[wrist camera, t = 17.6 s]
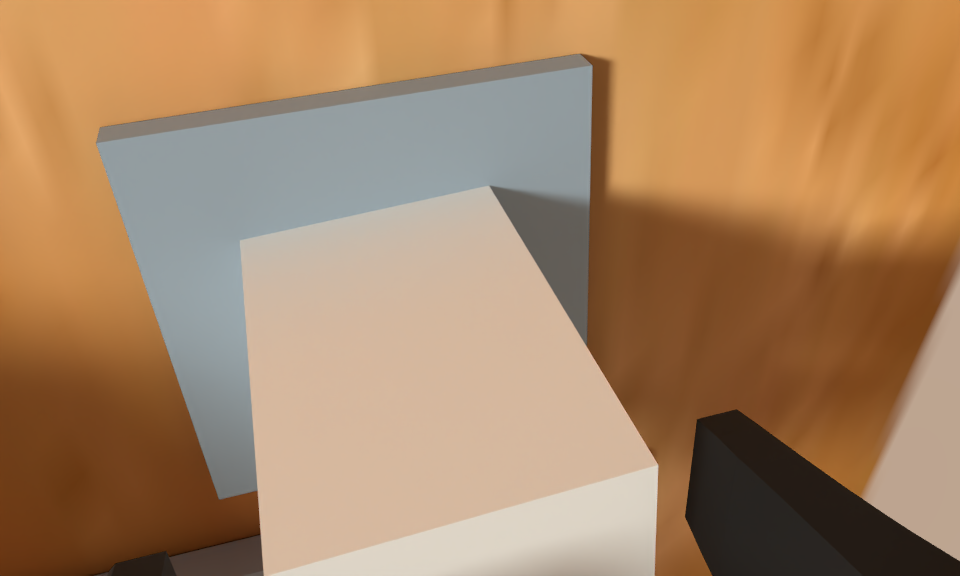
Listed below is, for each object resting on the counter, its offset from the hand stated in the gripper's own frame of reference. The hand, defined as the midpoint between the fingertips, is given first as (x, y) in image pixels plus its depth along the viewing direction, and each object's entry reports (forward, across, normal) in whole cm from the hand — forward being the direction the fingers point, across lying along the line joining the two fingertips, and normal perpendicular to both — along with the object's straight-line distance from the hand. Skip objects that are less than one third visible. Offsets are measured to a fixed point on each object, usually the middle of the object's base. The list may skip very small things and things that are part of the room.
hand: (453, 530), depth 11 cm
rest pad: (+6, 0, 0) cm, 6 cm away
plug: (+6, 0, 0) cm, 6 cm away
